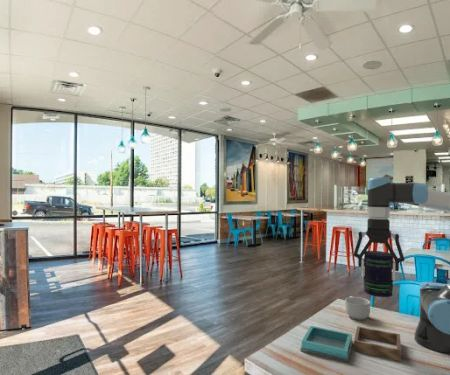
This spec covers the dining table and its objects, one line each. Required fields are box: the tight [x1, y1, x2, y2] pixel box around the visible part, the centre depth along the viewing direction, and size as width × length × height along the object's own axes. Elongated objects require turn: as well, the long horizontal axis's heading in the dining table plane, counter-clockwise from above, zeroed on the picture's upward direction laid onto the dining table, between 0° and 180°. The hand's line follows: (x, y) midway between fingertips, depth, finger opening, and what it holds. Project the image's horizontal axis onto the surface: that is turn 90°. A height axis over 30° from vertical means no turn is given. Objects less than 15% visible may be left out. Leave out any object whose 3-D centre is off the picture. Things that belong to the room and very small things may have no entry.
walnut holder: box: [353, 325, 402, 362], centre depth 117 cm, size 15×15×4 cm
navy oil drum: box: [363, 250, 394, 298], centre depth 118 cm, size 10×10×15 cm
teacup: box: [344, 295, 371, 321], centre depth 148 cm, size 14×11×8 cm
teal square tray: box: [300, 325, 354, 363], centre depth 116 cm, size 16×16×4 cm
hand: (378, 277), depth 118 cm, fingers closed on navy oil drum, 10 cm apart
